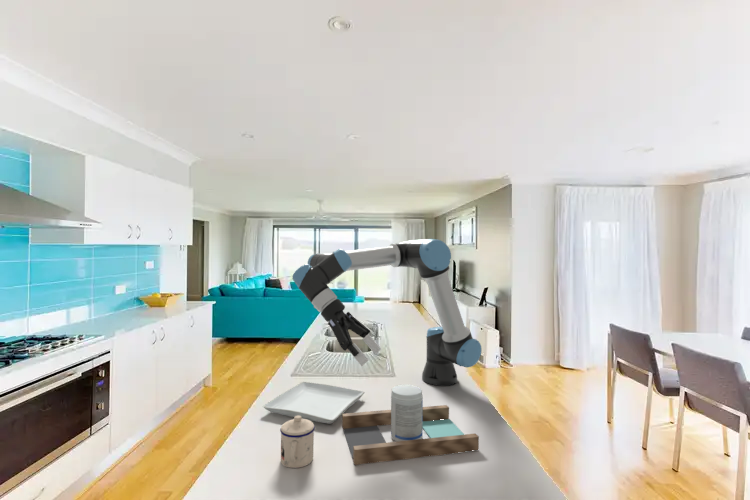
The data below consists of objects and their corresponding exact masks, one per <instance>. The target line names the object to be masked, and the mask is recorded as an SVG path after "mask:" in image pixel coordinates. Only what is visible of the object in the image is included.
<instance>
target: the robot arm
mask: <svg viewBox="0 0 750 500" xmlns="http://www.w3.org/2000/svg"><path fill="white" fill-rule="evenodd" d="M451 260H452V253H451V250H450V248H449V246H448V245H447V244H446V242H444V241H443V240H441V239H437V238H436V239H435V238H423V239H418V238H417V239H409V240H405V241H401V242H400V241H399V242H396V243H391V244H389V245H388V246H380V247H373V248H372V247H371V248H363V249H354V250H353V249H352V250H344V249H342V248H338V249H336V250H335V251H332V252H325V253H320V252H318V253H313V254H312V255H310V257H308V259H307V263H306V264H303V265H301V266H300V267H298V268H297V269H296V270H295V271H294V272H293V274H292V277H291V279H292V280H293V282H294V283H295V285H296V286H297V288H298V289H299V290H300V292H302V294H304V296H305V298H307V300H308V301H309V302H310V303H311V304H312V305H313V308H314V309H316V311H318V312H319V313H320V315H321V316H322V317H323V319H324V320H325V321H326V322H327V324H328V326H329V327H330V328H331V330H332V333H333V334H334V336H335V337H336V338H335V339H336V340H337V342H338V344H339V346H340V348H341V349H342V350H343V352H344V351H345V352H346V351H347V350H348V352H349V353H350V354H351V355H352V357H353V358H354V359H355V360H356V361H357V362H358V364H359V365H360V366H361V367H363V366H364V365H365V364H367V363H368V361H369V358H368V357H367V356H366V355H365V353H364V352H363V351H362V350H361V349H360V347H359V346H358V345H357V344H356V343H355V342H354V343H353V340H352V337H351V334H350V332H349V330H350V331H352V332H353V333H354V334H356V335H358V336H360V337H361V338H362V341H363V342H364V343H365V345H367V347H368V348H369V349H370V350H371V351H372V353H373V354H374V355H377V354H378V353H379V352H380V351H382V347H381V346H379V344H378V342H376V341H375V339H374V338H373V337H372V336H371V335H370V332H371V330H370V329H369V328H368V327H367V326H365V325H364V324H363V323H362V322H361V321H359V319H357V318H356V317H354V316H353V314H352V313H350V311H347V312H345V311H344V310H345V308H346V305H345V304H343V302H342V301H341V299H340V298H338V296H337V295H336V294H335V292H334V291H333V290H332V289H331V288H330V287H329V286H328V285H329V284H330V283H332V282H333V281H334V280H335V279H337V278H338V277H339V276H341V275H342V274H344V273H346V272H348V271H357V270H363V269H373V268H379V267H387V266H388V267H389V266H391V267H393V268H398V267H399V268H401V267H402V268H403V267H405V268H413V269H417V270H418V273H419V276H420V278H421V279H422V280H425V281H426V285H427V287H428V290H429V292H430V295H431V298H432V302H433V304H434V308H435V310H436V313H437V315H438V316H437V317H438V319H439V322H440V324H441V326H434V327H430V328H428V329H427V331H426V336H425V337H426V359H425V360H426V361H425V364H424V368H423V371H422V374H421V375H422V376H421V379H422V382H424V383H426V384H429V385H432V384H433V385H432V386H438V385H448V386H451V385H450V384H453V385H455V384H456V382H457V383H458V375H457V371H456V368H455V365H457V366H459V367H464V368H472V367H474V366H475V365H476V364H477V363H478V362H479V360H480V357H481V356H482V355H481V354H482V345H481V343H480V341H479V340H477V338H474V337H473V335H472V333H471V330H470V328H469V327H467V326H465V323H464V321H463V318H462V314H461V311H460V308H459V305H458V302H457V299H456V296H455V293H454V290H453V288H452V284H451V281H450V278H449V274H448V272H449V271H450V264H451ZM454 383H455V384H454Z"/></svg>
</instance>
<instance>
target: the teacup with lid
mask: <svg viewBox="0 0 750 500" xmlns="http://www.w3.org/2000/svg"><path fill="white" fill-rule="evenodd" d="M279 431H280V432H279V433H280V463H281V464H282V465H283V466H285V467H286V468H291V469H299V468H303V467H306V466H308V465H309V464H311V463H312V461H313V460H314V444H315V443H314V439H315V438H314V435H315V433H314V432H315V424H314V422H313V421H311V420H307V419H302V417H301V416H299V415H297V416H295V417H293V419H289V420H287V421H285V422H284V423H283V424H282V425H281V427H280V429H279Z"/></svg>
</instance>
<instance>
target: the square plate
mask: <svg viewBox="0 0 750 500" xmlns="http://www.w3.org/2000/svg"><path fill="white" fill-rule="evenodd" d="M364 394H365V391H363V390H358V389H352V388H347V387H342V386H337V385H332V384H324V383H316V382H310V381H308V382H307V381H301V382H299V383H298V384H297V385H295V386H292V387H290V388H289V389H287V390H286V391H284V392H282V393H281V394H279V395H277V396H276V397H275V398H273V399H272V400H269V401H268V402H267V403H265V404H264V405H263V406H262V408H264V409H265V410H267V411H268V412H270V413H274V414H277V415H283V416H286V417H292V418H294V417H295V416H297V415H299V416H301V417H302V419H307V420H310V421H311V422H315V423H323V424H333V423H335V421H337V420H338V419H339V418H340V417H341V416H342V414H345V412H346V411H347V410H348V409H349V408H350V407H352V406H353V405H355V404H356V403H357V402H358V401H359V400H360V399H361V398H362V396H363V395H364Z"/></svg>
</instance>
